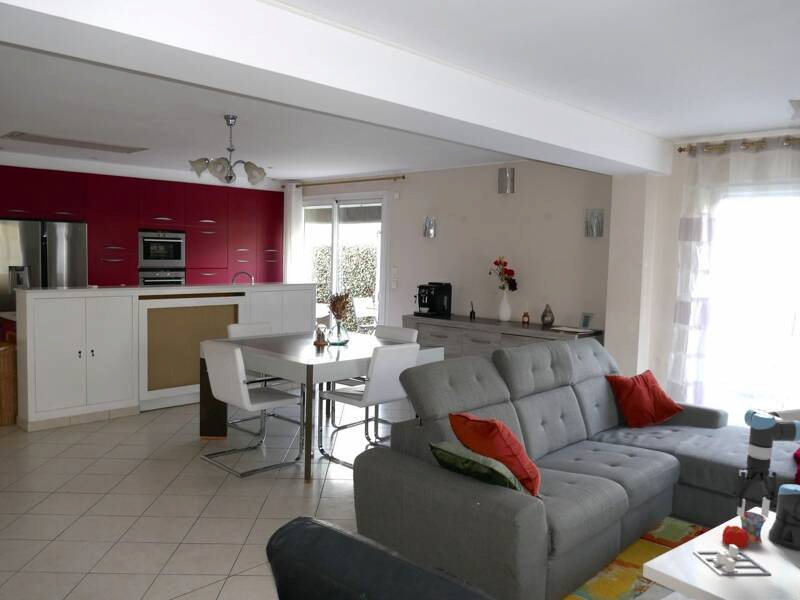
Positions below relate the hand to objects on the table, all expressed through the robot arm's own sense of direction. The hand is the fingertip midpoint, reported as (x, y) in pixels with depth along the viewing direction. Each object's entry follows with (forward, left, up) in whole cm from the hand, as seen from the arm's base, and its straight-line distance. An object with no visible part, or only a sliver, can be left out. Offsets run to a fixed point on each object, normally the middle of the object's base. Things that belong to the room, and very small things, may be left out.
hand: (752, 515), depth 235 cm
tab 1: (+14, +5, -16) cm, 22 cm away
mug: (-13, -16, -18) cm, 27 cm away
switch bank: (+10, +5, -17) cm, 21 cm away
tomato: (-2, -11, -18) cm, 21 cm away
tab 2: (+6, 0, -16) cm, 17 cm away
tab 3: (+14, +10, -16) cm, 23 cm away
